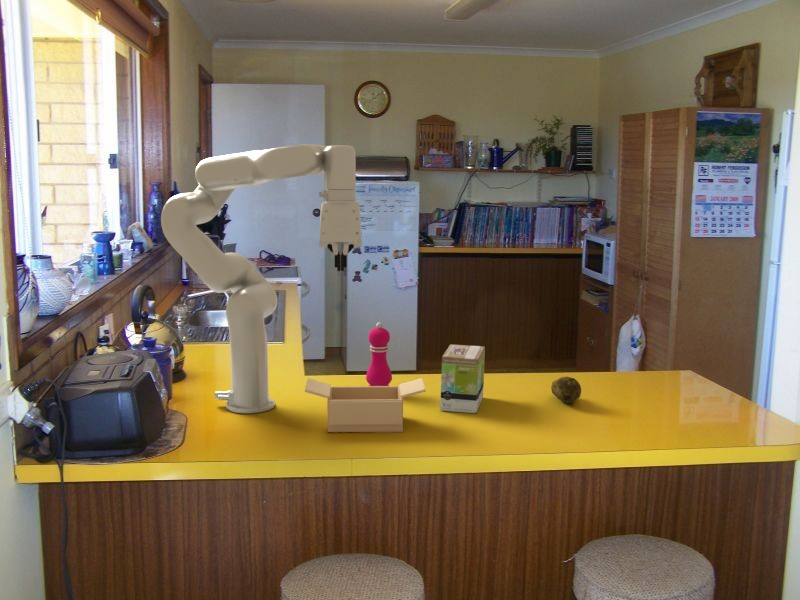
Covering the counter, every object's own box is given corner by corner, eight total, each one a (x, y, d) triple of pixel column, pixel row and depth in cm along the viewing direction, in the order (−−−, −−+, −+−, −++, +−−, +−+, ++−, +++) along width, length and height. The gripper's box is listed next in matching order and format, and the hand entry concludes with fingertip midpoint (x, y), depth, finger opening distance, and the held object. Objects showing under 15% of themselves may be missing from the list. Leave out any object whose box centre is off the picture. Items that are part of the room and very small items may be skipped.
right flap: (400, 395, 202) (425, 389, 202) (399, 384, 212) (422, 377, 212) (401, 398, 202) (425, 391, 202) (399, 386, 212) (422, 380, 212)
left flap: (331, 384, 211) (307, 377, 211) (329, 396, 201) (305, 389, 201) (330, 386, 211) (307, 380, 211) (328, 398, 202) (304, 391, 201)
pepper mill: (388, 397, 231) (389, 325, 227) (363, 395, 232) (363, 324, 229) (394, 389, 238) (394, 320, 234) (369, 388, 239) (369, 319, 236)
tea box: (477, 414, 217) (479, 358, 214) (439, 411, 219) (440, 356, 216) (484, 397, 232) (485, 344, 229) (447, 395, 234) (448, 342, 231)
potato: (582, 397, 232) (583, 369, 230) (579, 411, 220) (581, 381, 218) (551, 395, 234) (552, 367, 232) (547, 408, 222) (548, 379, 220)
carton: (327, 433, 201) (327, 401, 200) (329, 416, 214) (329, 385, 213) (402, 433, 202) (403, 400, 201) (400, 415, 215) (400, 385, 214)
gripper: (308, 197, 203) (309, 272, 206) (371, 197, 203) (370, 272, 207) (310, 195, 210) (311, 268, 213) (370, 195, 211) (370, 268, 214)
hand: (340, 270), depth 210 cm, fingers closed
